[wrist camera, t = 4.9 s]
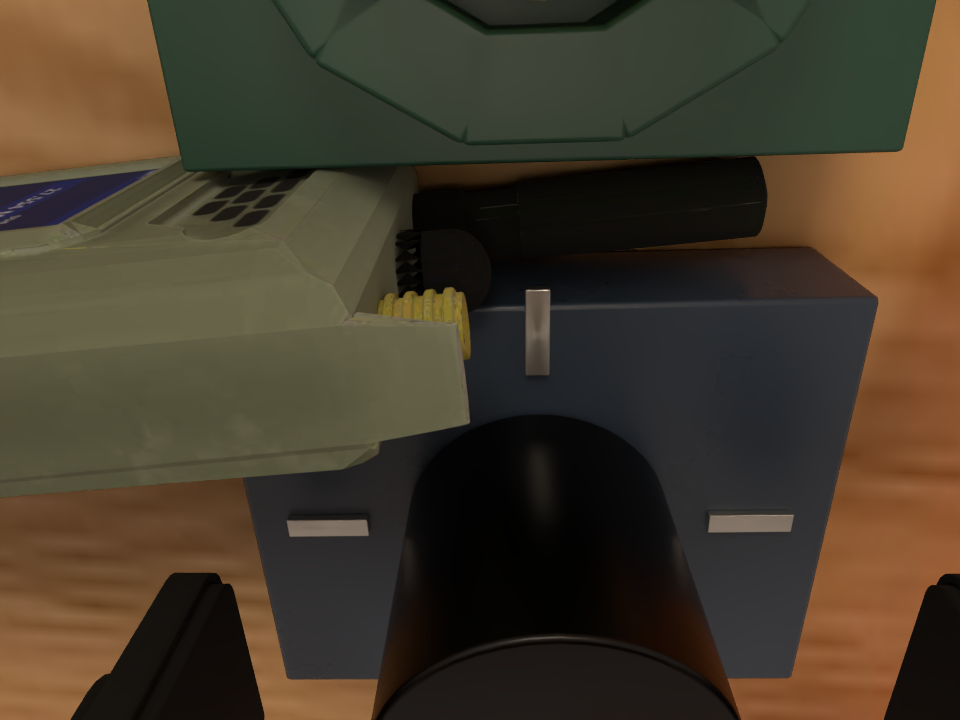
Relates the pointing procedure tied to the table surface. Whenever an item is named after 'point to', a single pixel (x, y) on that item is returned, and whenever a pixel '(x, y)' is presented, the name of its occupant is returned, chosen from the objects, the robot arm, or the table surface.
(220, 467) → the handheld radio
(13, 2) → the table surface
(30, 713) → the table surface
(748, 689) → the table surface
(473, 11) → the green button base
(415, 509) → the knob
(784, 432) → the nozzle panel
